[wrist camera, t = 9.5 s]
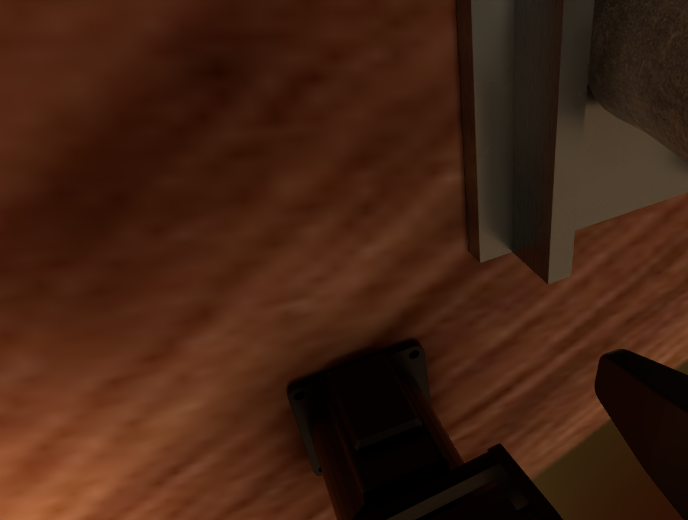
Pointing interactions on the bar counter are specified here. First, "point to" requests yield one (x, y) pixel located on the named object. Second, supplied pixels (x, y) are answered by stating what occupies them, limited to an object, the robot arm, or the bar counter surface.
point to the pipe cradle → (545, 135)
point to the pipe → (643, 66)
